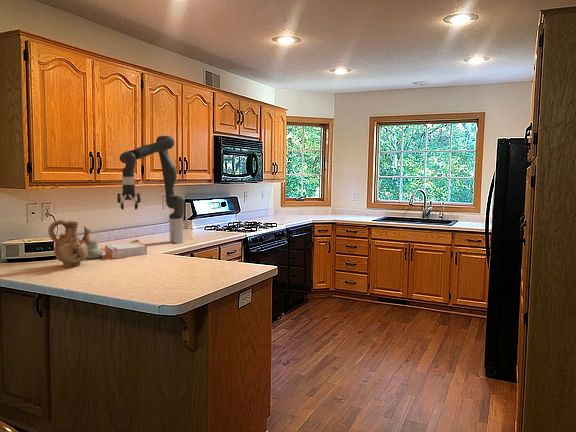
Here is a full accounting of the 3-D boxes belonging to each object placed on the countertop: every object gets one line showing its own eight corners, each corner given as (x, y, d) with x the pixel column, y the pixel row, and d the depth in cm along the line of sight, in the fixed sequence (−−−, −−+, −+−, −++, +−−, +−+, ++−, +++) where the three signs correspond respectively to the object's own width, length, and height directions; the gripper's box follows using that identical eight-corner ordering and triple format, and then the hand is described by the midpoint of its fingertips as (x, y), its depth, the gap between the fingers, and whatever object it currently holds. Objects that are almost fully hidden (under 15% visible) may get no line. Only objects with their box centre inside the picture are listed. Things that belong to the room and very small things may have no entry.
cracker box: (139, 250, 295) (104, 254, 282) (139, 241, 294) (104, 244, 281) (147, 256, 284) (111, 259, 271) (147, 246, 283) (111, 249, 270)
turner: (132, 245, 315) (132, 239, 315) (141, 245, 315) (141, 240, 315) (119, 251, 293) (119, 245, 293) (129, 251, 293) (129, 245, 293)
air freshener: (80, 259, 270) (79, 242, 269) (86, 256, 278) (86, 240, 277) (98, 259, 270) (98, 242, 269) (104, 257, 278) (104, 240, 277)
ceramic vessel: (80, 269, 242) (78, 221, 240) (43, 269, 243) (41, 220, 241) (95, 262, 261) (94, 217, 258) (61, 262, 261) (59, 217, 259)
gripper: (141, 183, 303) (142, 209, 304) (119, 183, 303) (120, 208, 305) (137, 184, 295) (138, 209, 297) (115, 184, 296) (115, 209, 297)
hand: (129, 209), depth 301 cm, fingers open, 8 cm apart
